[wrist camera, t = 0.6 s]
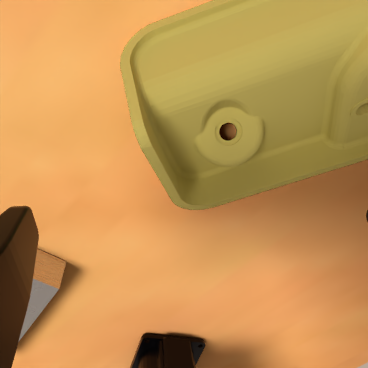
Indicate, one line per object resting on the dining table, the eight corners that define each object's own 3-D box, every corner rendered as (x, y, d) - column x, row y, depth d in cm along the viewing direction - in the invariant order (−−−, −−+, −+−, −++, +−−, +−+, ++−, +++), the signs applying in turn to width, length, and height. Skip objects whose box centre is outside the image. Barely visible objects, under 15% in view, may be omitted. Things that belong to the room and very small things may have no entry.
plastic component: (181, 217, 23) (125, 122, 15) (164, 142, 28) (114, 37, 19) (468, 127, 21) (580, -37, 13) (403, 62, 26) (457, -93, 17)
